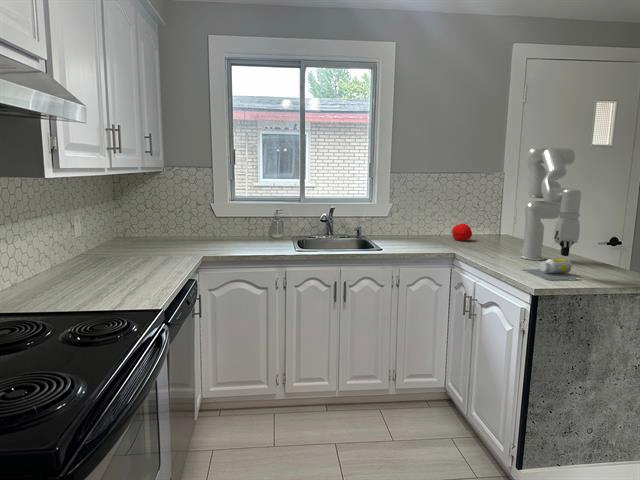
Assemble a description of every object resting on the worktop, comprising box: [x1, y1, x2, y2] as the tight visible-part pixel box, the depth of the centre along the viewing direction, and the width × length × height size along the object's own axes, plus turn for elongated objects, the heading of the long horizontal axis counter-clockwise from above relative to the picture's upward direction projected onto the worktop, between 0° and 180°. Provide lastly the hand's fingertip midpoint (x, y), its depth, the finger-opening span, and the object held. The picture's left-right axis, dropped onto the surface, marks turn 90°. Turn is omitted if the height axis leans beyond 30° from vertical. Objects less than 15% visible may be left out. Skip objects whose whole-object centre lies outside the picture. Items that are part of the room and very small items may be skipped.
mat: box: [522, 268, 578, 281], centre depth 205 cm, size 20×16×1 cm
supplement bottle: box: [539, 258, 573, 274], centre depth 207 cm, size 7×7×13 cm
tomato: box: [451, 223, 473, 242], centre depth 299 cm, size 13×13×13 cm
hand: (564, 255), depth 204 cm, fingers closed
